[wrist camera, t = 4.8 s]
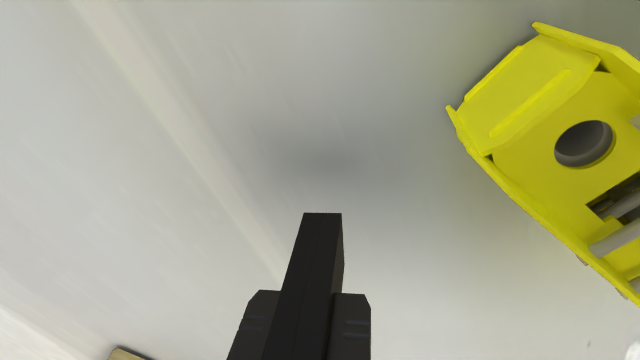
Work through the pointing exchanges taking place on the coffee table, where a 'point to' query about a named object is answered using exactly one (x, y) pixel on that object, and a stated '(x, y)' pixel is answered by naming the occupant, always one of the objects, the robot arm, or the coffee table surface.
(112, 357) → the toy sofa
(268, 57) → the coffee table surface
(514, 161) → the yellow toy chassis
